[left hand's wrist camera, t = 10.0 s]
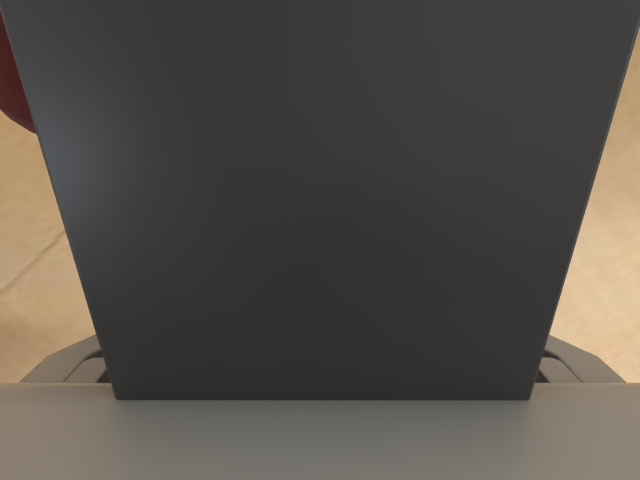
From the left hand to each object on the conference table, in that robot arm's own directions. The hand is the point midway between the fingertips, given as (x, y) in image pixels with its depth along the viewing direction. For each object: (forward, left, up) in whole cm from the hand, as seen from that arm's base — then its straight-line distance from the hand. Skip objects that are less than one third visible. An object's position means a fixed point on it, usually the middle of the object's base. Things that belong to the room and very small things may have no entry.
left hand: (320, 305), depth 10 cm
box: (-4, +9, -4) cm, 11 cm away
